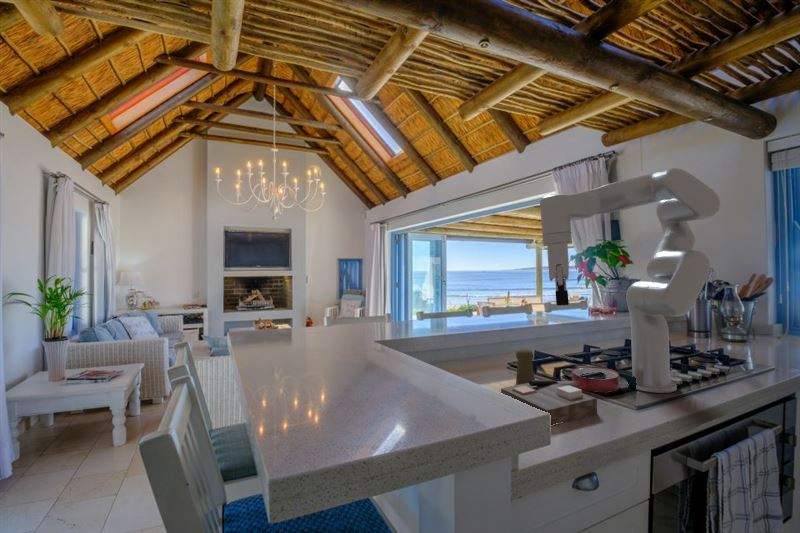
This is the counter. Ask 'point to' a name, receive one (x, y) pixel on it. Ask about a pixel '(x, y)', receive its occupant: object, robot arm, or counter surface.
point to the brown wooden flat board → (555, 402)
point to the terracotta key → (524, 390)
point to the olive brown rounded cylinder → (524, 366)
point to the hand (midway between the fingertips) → (562, 304)
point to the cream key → (569, 392)
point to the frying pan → (586, 380)
